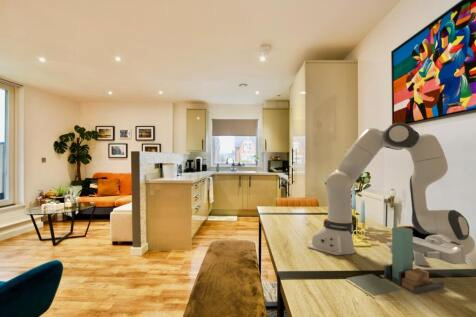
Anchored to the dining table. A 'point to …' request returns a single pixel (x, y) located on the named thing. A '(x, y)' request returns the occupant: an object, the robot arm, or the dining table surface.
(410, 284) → the lower walnut offcut
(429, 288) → the rack
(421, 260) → the spoon rest
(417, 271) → the upper walnut offcut
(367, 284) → the rubber mat
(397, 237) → the teal rectangular block
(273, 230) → the dining table surface
